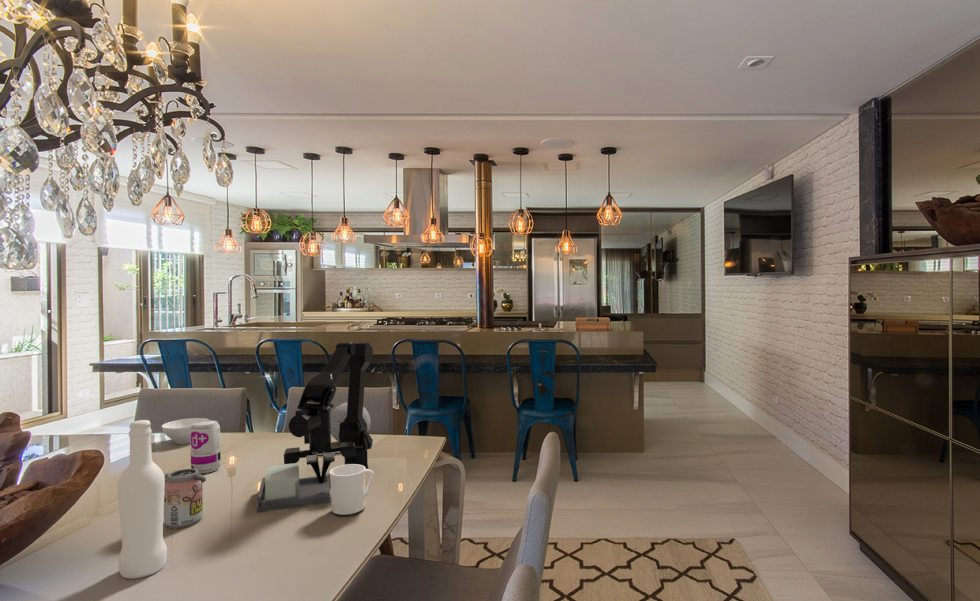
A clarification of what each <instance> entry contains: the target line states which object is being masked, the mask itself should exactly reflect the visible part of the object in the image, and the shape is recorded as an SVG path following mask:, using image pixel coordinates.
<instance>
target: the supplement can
mask: <svg viewBox="0 0 980 601" xmlns="http://www.w3.org/2000/svg"><path fill="white" fill-rule="evenodd" d="M189 444H190V445H189V446H190V469H197V470H198V471H199V473H200V474H201V475H203V474H202V473H206V474H210V473H209V472H211V473H214V472H216V471H218V470H219V469H218V468H221V465H222V464H221V462H222V461H221V459H222V458H221V426H220V424H219V423H218V420H214V419H213V420H211V419H209V420H207V421H200V422H196V423H193V424H192V427H191V429H190V443H189ZM217 469H218V470H217ZM213 471H214V472H213Z"/></svg>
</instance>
